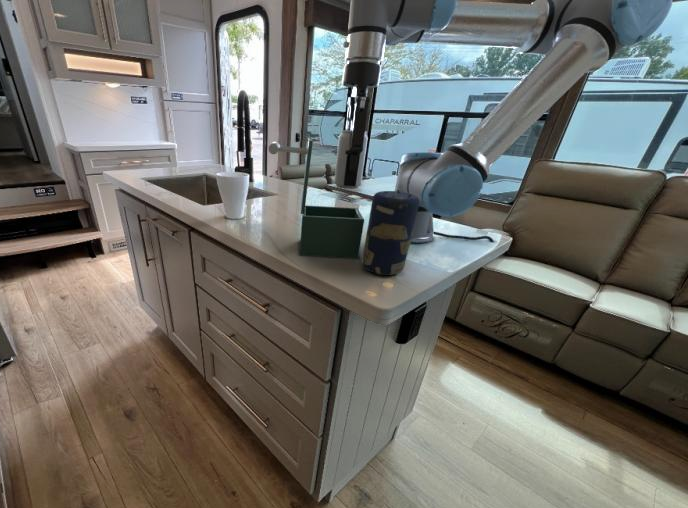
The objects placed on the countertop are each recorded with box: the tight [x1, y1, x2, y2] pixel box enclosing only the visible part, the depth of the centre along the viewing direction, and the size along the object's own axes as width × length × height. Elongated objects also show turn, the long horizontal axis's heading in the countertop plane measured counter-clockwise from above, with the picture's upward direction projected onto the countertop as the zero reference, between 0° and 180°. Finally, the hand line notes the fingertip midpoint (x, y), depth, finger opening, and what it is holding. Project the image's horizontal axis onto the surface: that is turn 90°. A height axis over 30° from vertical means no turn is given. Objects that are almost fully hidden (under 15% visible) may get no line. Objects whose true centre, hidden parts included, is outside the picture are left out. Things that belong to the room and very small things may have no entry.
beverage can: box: [333, 129, 369, 190], centre depth 73 cm, size 6×6×12 cm
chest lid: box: [268, 137, 314, 215], centre depth 75 cm, size 16×11×10 cm
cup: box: [215, 171, 250, 220], centre depth 104 cm, size 10×10×14 cm
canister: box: [361, 189, 419, 276], centre depth 69 cm, size 10×10×18 cm
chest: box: [299, 204, 365, 259], centre depth 81 cm, size 15×11×10 cm
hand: (347, 182), depth 75 cm, fingers closed on beverage can, 6 cm apart
